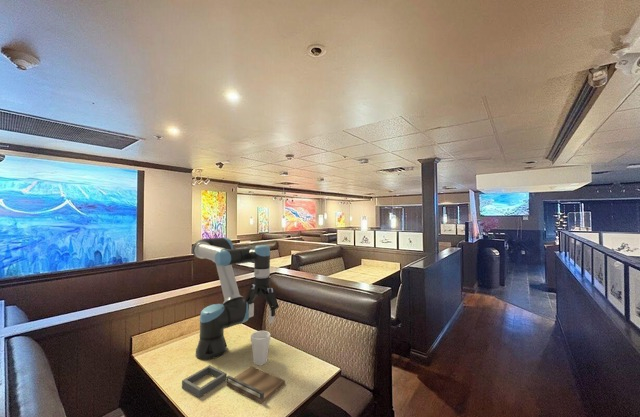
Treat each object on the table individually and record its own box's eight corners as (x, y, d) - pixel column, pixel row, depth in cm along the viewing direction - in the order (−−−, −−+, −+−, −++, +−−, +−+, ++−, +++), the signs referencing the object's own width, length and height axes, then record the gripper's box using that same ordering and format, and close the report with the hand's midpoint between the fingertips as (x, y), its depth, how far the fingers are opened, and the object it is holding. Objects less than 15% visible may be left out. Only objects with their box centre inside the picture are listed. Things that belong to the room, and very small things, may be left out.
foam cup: (260, 369, 121) (260, 341, 121) (246, 363, 126) (246, 336, 126) (273, 359, 129) (274, 333, 129) (260, 354, 134) (260, 329, 134)
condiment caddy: (181, 387, 108) (182, 380, 108) (209, 371, 119) (209, 365, 119) (199, 398, 102) (199, 390, 102) (226, 380, 113) (226, 373, 113)
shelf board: (226, 386, 109) (226, 376, 109) (251, 369, 121) (251, 360, 121) (261, 404, 99) (261, 393, 99) (284, 383, 111) (284, 374, 111)
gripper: (238, 274, 132) (237, 316, 131) (276, 281, 119) (275, 328, 119) (249, 272, 138) (248, 312, 138) (286, 278, 126) (285, 322, 125)
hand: (261, 319), depth 128 cm, fingers open, 13 cm apart
